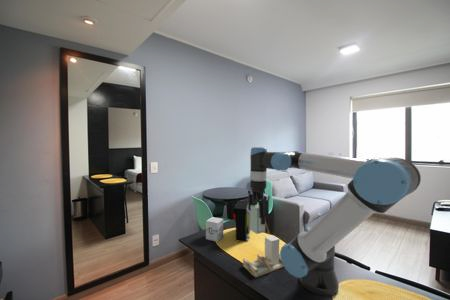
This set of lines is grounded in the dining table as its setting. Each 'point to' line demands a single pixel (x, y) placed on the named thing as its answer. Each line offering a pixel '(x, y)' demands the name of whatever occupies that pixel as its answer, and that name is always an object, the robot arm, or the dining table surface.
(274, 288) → the dining table surface
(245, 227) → the electrical component
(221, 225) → the ink box
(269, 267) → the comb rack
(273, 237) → the white tall block
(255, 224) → the sage plug
